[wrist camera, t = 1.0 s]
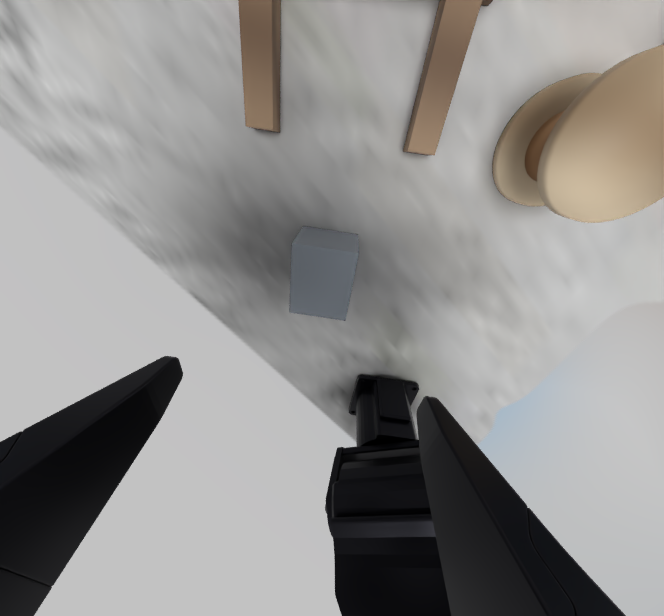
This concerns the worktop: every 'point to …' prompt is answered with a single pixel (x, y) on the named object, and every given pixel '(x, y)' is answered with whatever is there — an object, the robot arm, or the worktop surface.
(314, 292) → the blue-grey block
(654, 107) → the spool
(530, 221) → the worktop surface
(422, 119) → the notched board
